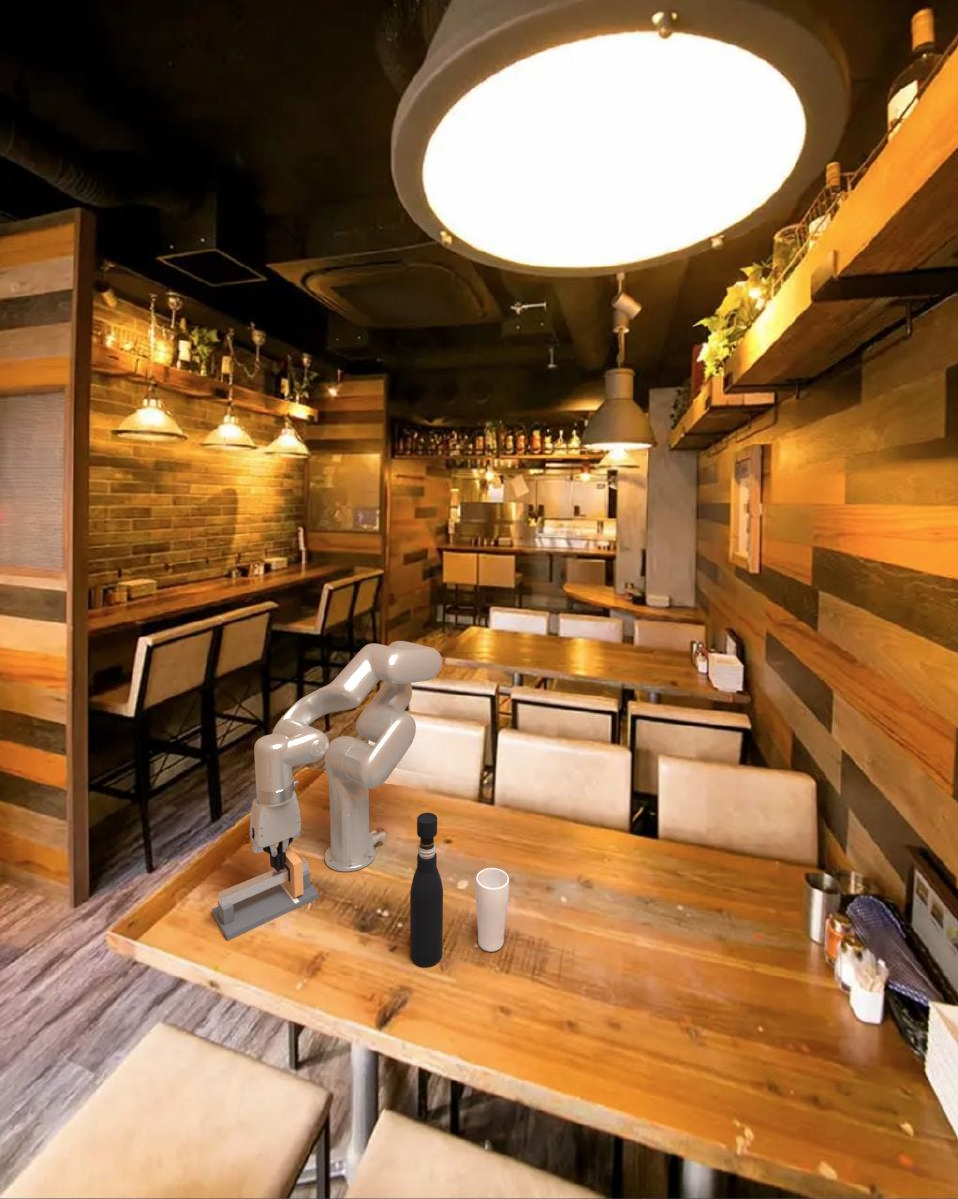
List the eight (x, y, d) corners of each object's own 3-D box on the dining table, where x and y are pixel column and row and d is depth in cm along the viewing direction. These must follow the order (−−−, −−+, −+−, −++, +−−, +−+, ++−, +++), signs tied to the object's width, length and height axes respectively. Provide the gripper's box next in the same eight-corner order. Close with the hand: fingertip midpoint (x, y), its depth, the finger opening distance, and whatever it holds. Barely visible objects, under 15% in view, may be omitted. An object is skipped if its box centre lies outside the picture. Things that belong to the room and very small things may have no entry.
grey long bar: (303, 866, 134) (303, 856, 134) (308, 872, 132) (308, 861, 132) (218, 902, 122) (217, 891, 121) (222, 909, 120) (222, 898, 119)
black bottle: (437, 970, 111) (438, 829, 106) (405, 964, 113) (405, 824, 107) (445, 945, 117) (447, 811, 112) (415, 940, 119) (416, 807, 113)
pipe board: (299, 875, 138) (299, 857, 137) (318, 897, 131) (318, 879, 130) (212, 913, 125) (210, 894, 124) (227, 940, 117) (226, 920, 117)
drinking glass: (511, 936, 120) (513, 871, 118) (501, 960, 114) (503, 892, 112) (480, 927, 123) (482, 864, 120) (469, 950, 116) (471, 884, 114)
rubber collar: (288, 875, 135) (287, 844, 133) (303, 893, 129) (302, 861, 127) (280, 879, 133) (279, 848, 132) (295, 897, 128) (293, 865, 126)
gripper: (300, 775, 133) (302, 847, 136) (233, 795, 123) (238, 873, 126) (314, 787, 127) (317, 862, 130) (246, 810, 117) (250, 890, 121)
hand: (278, 867), depth 128 cm, fingers closed
